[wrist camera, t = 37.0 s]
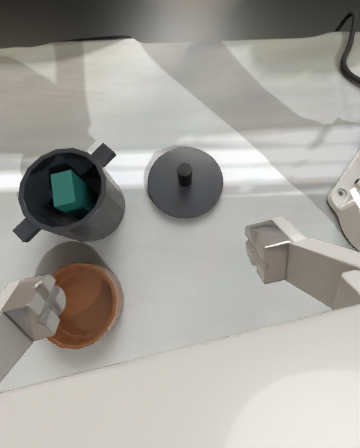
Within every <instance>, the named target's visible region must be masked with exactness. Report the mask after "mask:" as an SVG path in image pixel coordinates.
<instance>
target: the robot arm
mask: <svg viewBox="0 0 360 448" xmlns="http://www.w3.org/2000/svg"><path fill="white" fill-rule="evenodd" d="M351 16H352V17H353V20H352V27H351V31H350V36H349V41H348V45H347V47H346V50H345V52H344V53H343V56H342V59H341V67H342V70H343V72H344V73H345V75H346V76H347V77H349V78H350V79H351V80H353V81H355V82H356V83H358V84H360V77H358V76H356V75H355V74H353V73H352V72H351V71H350V70H349V69H348V67H347V64H346V58H347V56H348V53H349V51H350V49H351V47H352V44H353V39H354V35H355V30H356V25H357V19H358V14H357V12H356V11H351V12H349V13H348V14H347V15H346V16H345V17H344V19H343V20H342V21H341V23H340V24H339V25H338V27H337V28H336V30H335V31H334V32H339V30H340V29H341V27H342V26H343V25H344V24H345V22H346V21H347V20H348V19H349V17H351ZM338 193H340V194H341V196H340V195H339V194H338ZM327 200H328V203H329V205H330V206H331V208H332V209H333V210H334V211H335V213H336V214H337V216H338V218H339V222H340V225H341V228H342V230H343V232H344V234H345V236H346V237H347V239H348V240H349V242H350V243H351V244H352V245H353V246H354V247H355V248H356V249H357V250H359V251H360V149H359V151H358V152H357V154H356V155H355V157H354V158H353V160H352V161H351V163H350V164H349V166H348V167H347V169H346V170H345V172H344V173H343V175H342V176H341V178H340V179H339V181H338V182H337V184H336V185H335V187H334V188H333V190H332V191H331V193H330V194H329V196H328V198H327ZM245 235H246V236H247V238H248V240H247V242H246V251H247V255H248V257H249V260H250V262H251V263H252V265H254V266H256V267H257V273H258V275H259V276H260V278H261V280H262V281H263V283H264V284H268V283H273V282H277V281H282V280H286V281H287V282H289V283H291V284H292V285H294V286H296V287H297V288H299V289H301V290H302V291H304V292H306V293H307V294H309V295H311V296H312V297H314V298H316V299H317V300H319V301H321V302H322V303H324V304H326V305H327V306H329V307H331V308H332V311H329V312H325V313H321V314H317V315H313V316H308V317H304V318H300V319H296V320H292V321H288V322H284V323H280V324H276V325H272V326H268V327H264V328H260V329H256V330H252V331H248V332H243V333H239V334H235V335H231V336H227V337H223V338H219V339H215V340H211V341H207V342H203V343H199V344H195V345H191V346H187V347H183V348H179V349H175V350H171V351H167V352H163V353H158V354H154V355H150V356H146V357H142V358H138V359H134V360H130V361H126V362H122V363H118V364H114V365H110V366H106V367H101V368H97V369H93V370H89V371H85V372H81V373H77V374H73V375H69V376H65V377H61V378H57V379H53V380H49V381H45V382H40V383H36V384H32V385H28V386H24V387H20V388H16V389H12V390H8V391H4V392H0V448H360V252H357V251H354V250H351V249H347V248H344V247H341V246H337V245H334V244H331V243H328V242H324V241H321V240H318V239H314V238H306V237H305V236H304V235H303V234H302V233H301V232H300V231H299V230H297V229H296V228H295V227H294V226H293V225H292V224H291V223H290V222H289V221H288V220H287V219H285V218H284V217H278V218H275V219H271V220H269V221H265V222H261V223H257V224H253V225H249V226H246V228H245ZM55 282H56V280H55V279H54V277H53V276H52V275H50V274H45V275H41V276H36V277H31V278H27V279H23V280H18V281H14V282H11V283H9V284H7V286H6V287H5V288H4V290H3V291H2V293H1V294H0V382H1V381H2V380H3V378H4V377H5V376H6V375H7V373H8V372H9V371H10V370H11V369H12V367H13V366H14V365H15V364H16V363H17V361H18V360H19V359H20V358H21V356H22V355H23V354H24V353H25V352H26V350H27V349H28V348H29V347H30V346H31V344H32V343H33V341H36V340H40V339H44V338H47V337H51V336H54V335H55V333H56V330H57V327H58V325H59V322H60V319H59V317H58V316H59V315H60V314H61V313H62V312H63V311H64V308H65V305H66V296H65V293H64V291H63V290H62V288H60V287H58V286H56V285H55Z"/></svg>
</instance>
